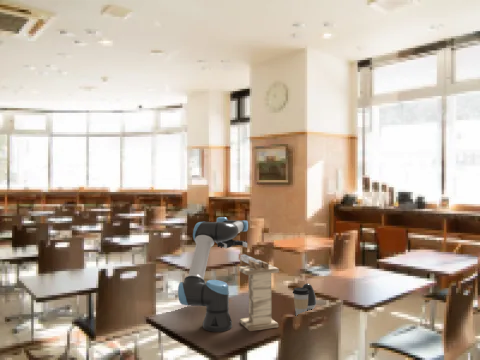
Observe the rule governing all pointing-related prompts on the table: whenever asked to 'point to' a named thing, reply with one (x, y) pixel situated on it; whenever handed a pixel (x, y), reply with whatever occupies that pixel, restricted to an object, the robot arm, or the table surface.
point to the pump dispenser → (310, 296)
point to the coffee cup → (300, 299)
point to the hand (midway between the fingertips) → (236, 245)
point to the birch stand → (259, 296)
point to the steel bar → (247, 258)
